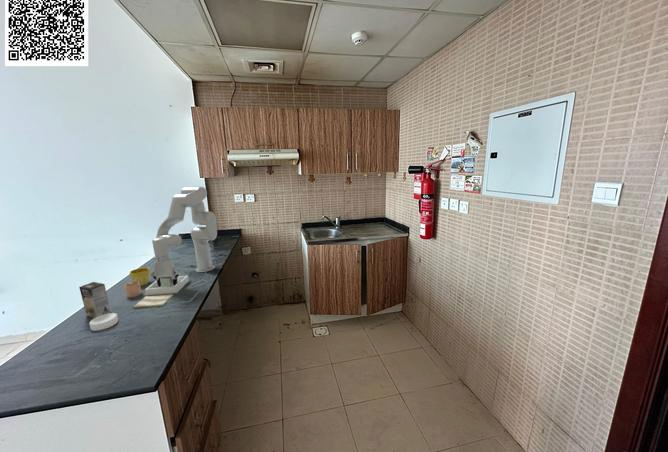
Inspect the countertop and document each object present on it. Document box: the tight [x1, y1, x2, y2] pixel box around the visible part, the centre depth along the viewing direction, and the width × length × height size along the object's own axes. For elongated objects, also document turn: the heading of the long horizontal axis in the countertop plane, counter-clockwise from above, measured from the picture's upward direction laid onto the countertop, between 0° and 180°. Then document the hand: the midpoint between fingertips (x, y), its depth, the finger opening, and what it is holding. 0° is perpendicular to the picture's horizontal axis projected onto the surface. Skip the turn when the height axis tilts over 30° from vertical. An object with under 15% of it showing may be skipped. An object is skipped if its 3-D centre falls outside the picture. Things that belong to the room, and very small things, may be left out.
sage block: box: [160, 277, 174, 287], centre depth 160 cm, size 5×5×7 cm
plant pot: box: [129, 267, 151, 287], centre depth 168 cm, size 10×10×10 cm
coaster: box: [89, 312, 119, 332], centre depth 124 cm, size 10×10×4 cm
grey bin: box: [144, 275, 190, 297], centre depth 160 cm, size 17×17×4 cm
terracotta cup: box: [124, 280, 143, 299], centre depth 152 cm, size 7×7×8 cm
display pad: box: [132, 293, 175, 309], centre depth 145 cm, size 12×15×1 cm
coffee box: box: [78, 281, 111, 319], centre depth 132 cm, size 9×6×16 cm
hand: (168, 285), depth 160 cm, fingers open, 8 cm apart
